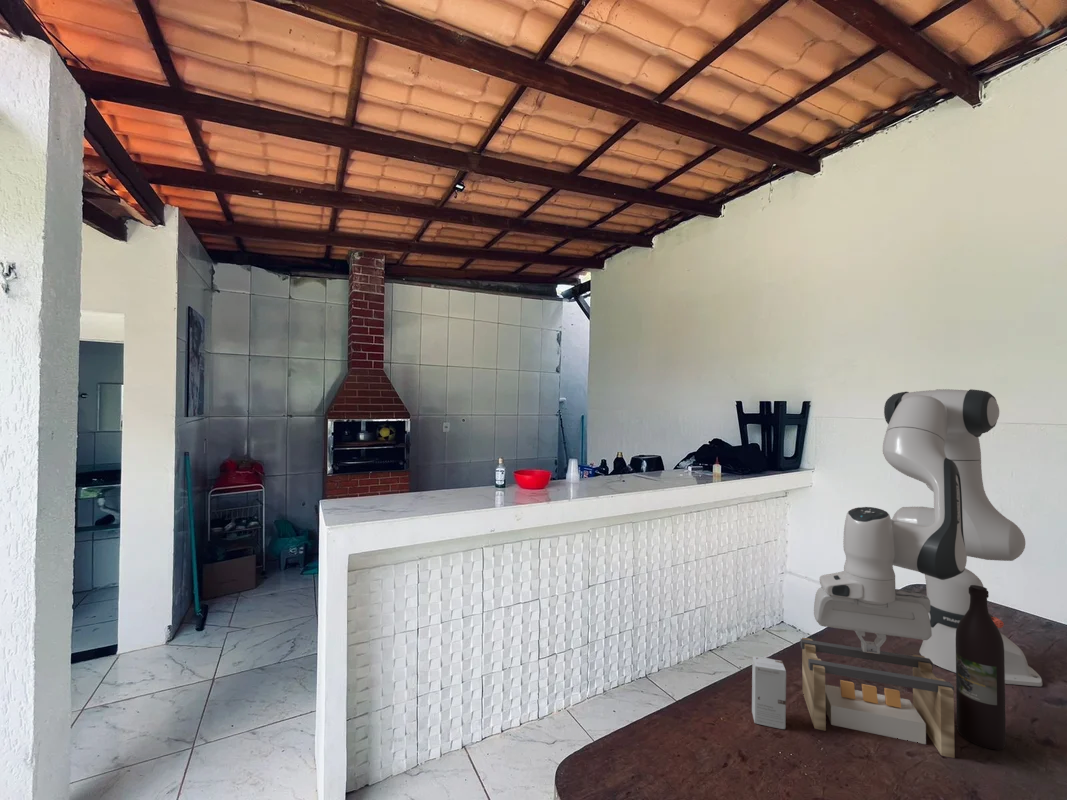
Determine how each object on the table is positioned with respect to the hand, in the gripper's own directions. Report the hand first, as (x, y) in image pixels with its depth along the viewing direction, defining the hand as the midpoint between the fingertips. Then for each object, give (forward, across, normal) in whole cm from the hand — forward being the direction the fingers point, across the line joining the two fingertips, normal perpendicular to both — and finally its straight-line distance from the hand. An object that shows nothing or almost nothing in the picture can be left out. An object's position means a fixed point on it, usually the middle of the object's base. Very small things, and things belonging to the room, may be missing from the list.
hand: (870, 651), depth 98 cm
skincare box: (+14, +20, +7) cm, 26 cm away
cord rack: (+14, 0, 0) cm, 15 cm away
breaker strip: (+14, 0, 0) cm, 15 cm away
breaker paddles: (+10, 0, 0) cm, 11 cm away
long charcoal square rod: (+3, 0, -4) cm, 5 cm away
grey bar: (+3, 0, +5) cm, 6 cm away
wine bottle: (+15, -19, -2) cm, 24 cm away
